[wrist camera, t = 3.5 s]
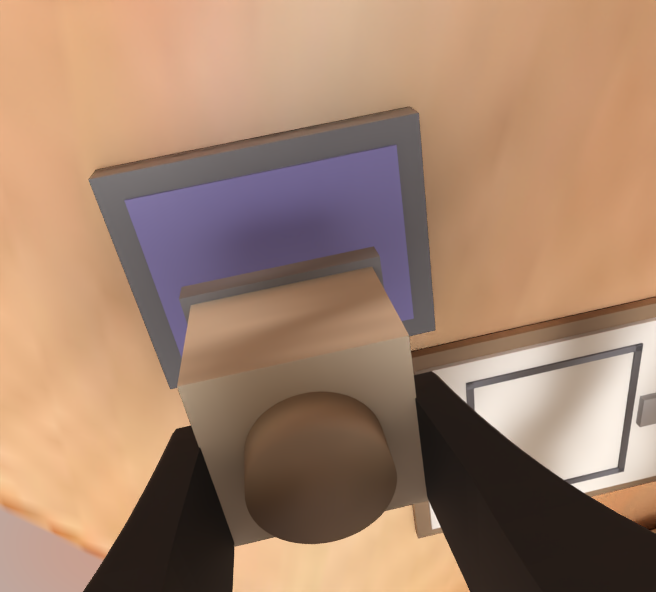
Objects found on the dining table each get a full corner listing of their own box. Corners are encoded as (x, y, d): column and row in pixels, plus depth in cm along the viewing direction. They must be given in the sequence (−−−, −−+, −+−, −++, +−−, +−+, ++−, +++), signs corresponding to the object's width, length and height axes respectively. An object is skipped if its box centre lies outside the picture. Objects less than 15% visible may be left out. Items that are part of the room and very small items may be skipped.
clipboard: (713, 284, 23) (729, 294, 22) (673, 469, 29) (685, 483, 28) (393, 355, 22) (399, 369, 22) (416, 531, 28) (421, 547, 27)
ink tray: (409, 106, 18) (419, 113, 17) (427, 316, 22) (436, 331, 21) (95, 169, 17) (87, 180, 16) (172, 372, 21) (170, 391, 20)
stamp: (373, 246, 13) (438, 354, 9) (395, 399, 15) (455, 545, 11) (181, 287, 12) (153, 417, 8) (230, 436, 14) (226, 601, 10)
